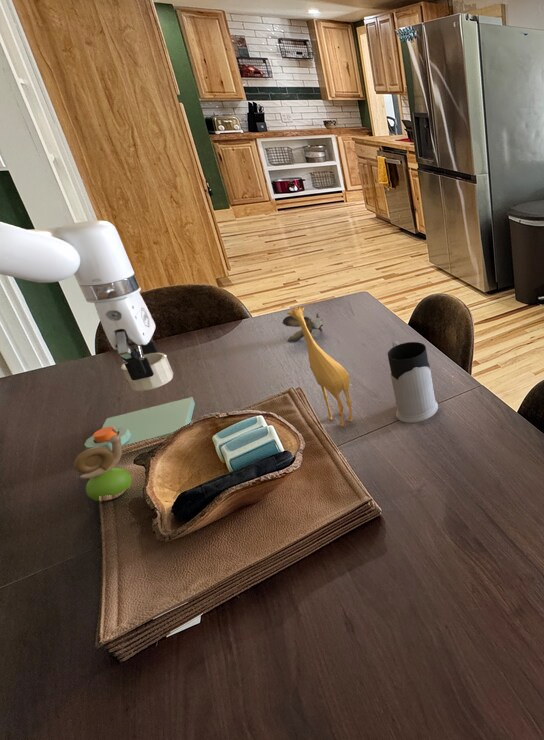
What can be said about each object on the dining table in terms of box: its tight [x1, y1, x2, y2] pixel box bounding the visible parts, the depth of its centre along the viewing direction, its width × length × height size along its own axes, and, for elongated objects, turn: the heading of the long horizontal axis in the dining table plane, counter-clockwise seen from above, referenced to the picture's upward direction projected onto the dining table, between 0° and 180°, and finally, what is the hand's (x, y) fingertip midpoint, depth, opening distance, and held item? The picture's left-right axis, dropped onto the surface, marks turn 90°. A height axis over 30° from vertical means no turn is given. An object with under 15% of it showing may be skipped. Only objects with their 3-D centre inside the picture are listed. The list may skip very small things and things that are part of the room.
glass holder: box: [387, 340, 439, 424], centre depth 103 cm, size 9×14×15 cm, turn 39°
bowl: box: [120, 352, 174, 392], centre depth 96 cm, size 7×7×5 cm
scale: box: [83, 396, 196, 450], centre depth 96 cm, size 14×14×4 cm
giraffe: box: [286, 305, 354, 427], centre depth 97 cm, size 16×4×25 cm, turn 56°
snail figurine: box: [73, 428, 133, 502], centre depth 80 cm, size 5×6×12 cm
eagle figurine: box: [281, 312, 324, 343], centre depth 134 cm, size 8×7×9 cm
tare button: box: [92, 427, 116, 443], centre depth 90 cm, size 3×3×2 cm
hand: (146, 368), depth 95 cm, fingers closed on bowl, 6 cm apart
